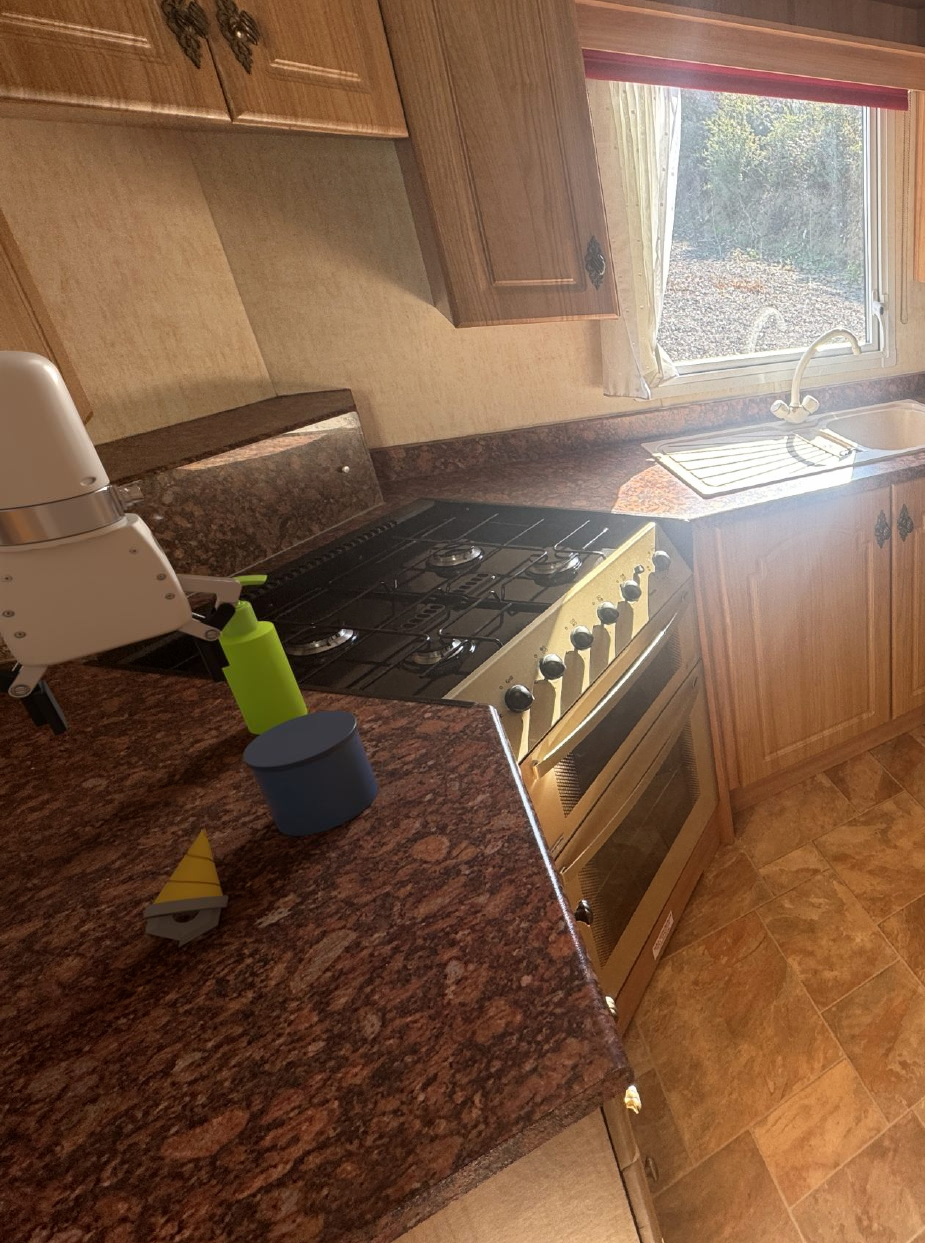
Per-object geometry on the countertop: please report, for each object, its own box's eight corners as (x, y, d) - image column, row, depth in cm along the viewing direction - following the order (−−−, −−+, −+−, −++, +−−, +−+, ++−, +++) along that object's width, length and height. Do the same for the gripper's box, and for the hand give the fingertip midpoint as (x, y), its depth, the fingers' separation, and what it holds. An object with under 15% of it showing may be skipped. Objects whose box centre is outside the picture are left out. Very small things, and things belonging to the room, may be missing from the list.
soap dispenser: (316, 721, 95) (261, 583, 87) (245, 740, 92) (182, 598, 84) (319, 699, 100) (267, 565, 92) (252, 716, 96) (193, 579, 88)
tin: (263, 850, 76) (230, 778, 72) (285, 793, 83) (256, 725, 80) (374, 817, 80) (348, 748, 76) (385, 766, 87) (362, 701, 84)
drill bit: (133, 955, 65) (162, 835, 69) (217, 942, 69) (239, 829, 73) (135, 952, 62) (164, 827, 66) (222, 939, 65) (245, 821, 69)
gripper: (193, 479, 65) (262, 646, 72) (-133, 537, 53) (-13, 731, 60) (209, 498, 61) (281, 673, 68) (-141, 565, 48) (-12, 772, 55)
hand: (143, 700), depth 64 cm, fingers open, 9 cm apart
